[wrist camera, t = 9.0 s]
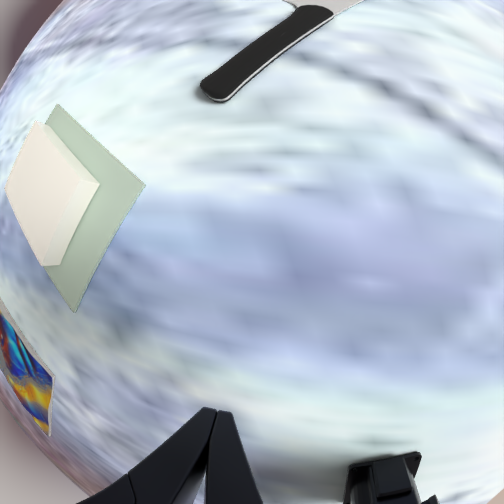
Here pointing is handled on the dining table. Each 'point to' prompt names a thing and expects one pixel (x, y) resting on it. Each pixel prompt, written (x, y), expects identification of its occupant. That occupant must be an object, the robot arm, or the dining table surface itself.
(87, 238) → the sage rubber mat
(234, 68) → the kitchen cleaver
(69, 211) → the standing glazed tile
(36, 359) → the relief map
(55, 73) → the dining table surface
